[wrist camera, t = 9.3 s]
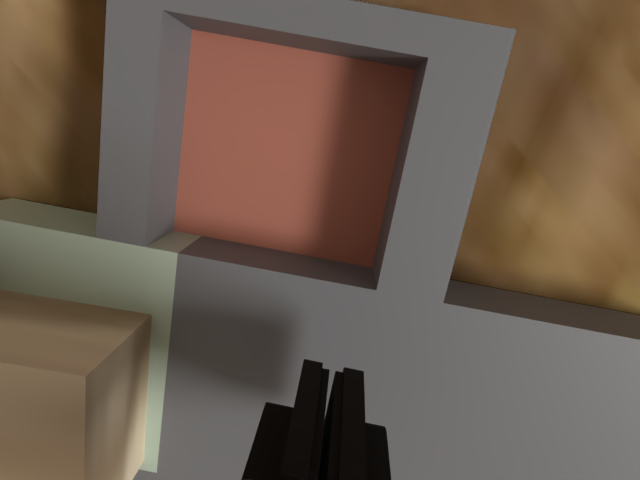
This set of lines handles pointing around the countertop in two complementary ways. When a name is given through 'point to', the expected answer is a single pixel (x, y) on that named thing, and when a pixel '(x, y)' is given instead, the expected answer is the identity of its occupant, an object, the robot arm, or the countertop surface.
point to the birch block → (71, 389)
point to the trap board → (322, 244)
